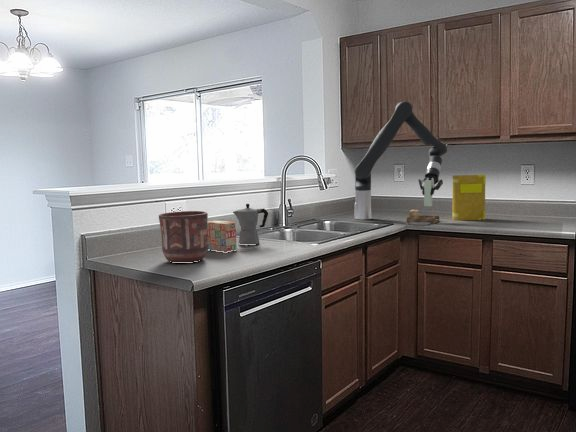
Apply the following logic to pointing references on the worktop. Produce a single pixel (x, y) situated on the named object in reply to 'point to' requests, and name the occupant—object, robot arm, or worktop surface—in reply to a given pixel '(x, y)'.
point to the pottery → (184, 235)
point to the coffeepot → (249, 224)
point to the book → (468, 197)
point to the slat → (427, 192)
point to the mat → (420, 223)
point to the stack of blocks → (221, 235)
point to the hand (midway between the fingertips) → (427, 194)
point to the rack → (423, 219)
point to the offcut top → (413, 212)
